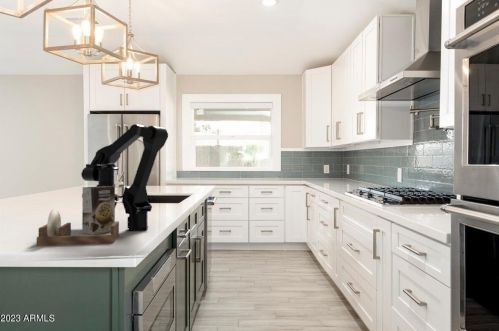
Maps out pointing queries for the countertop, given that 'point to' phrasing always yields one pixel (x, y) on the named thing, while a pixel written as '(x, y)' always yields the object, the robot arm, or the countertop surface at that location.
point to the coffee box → (98, 209)
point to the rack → (62, 234)
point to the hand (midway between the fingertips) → (106, 221)
